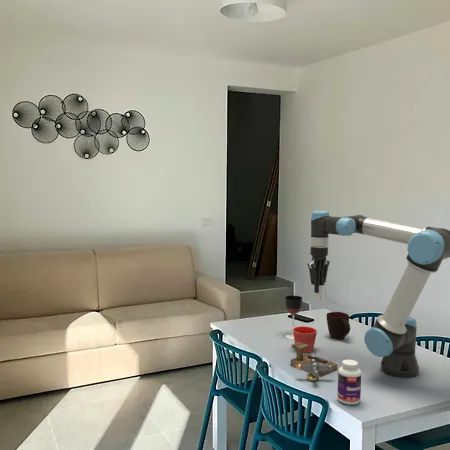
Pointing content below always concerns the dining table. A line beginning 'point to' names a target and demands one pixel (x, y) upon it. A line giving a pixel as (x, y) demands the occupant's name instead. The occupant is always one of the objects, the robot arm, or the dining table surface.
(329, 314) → the cup
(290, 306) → the wineglass
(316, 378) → the capstan
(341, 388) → the pill bottle
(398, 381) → the dining table surface
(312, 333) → the flower pot
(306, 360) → the level stand
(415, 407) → the dining table surface
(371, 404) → the dining table surface
